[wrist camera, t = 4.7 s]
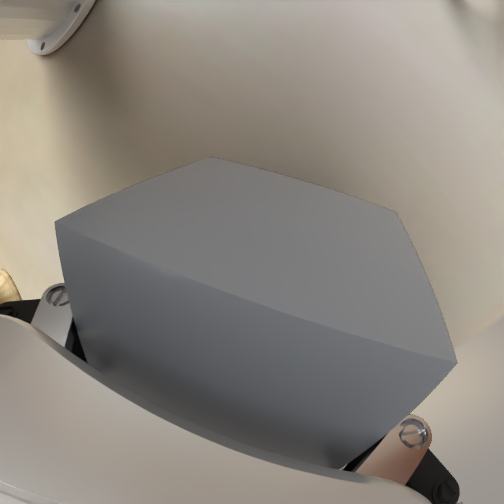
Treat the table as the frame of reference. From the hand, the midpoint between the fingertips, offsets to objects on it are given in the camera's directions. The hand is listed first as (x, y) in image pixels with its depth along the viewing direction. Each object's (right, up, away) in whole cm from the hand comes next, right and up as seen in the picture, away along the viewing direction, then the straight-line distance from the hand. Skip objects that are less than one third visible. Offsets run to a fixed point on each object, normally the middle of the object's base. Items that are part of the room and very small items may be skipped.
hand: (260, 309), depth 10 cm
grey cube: (+1, +1, +2) cm, 3 cm away
